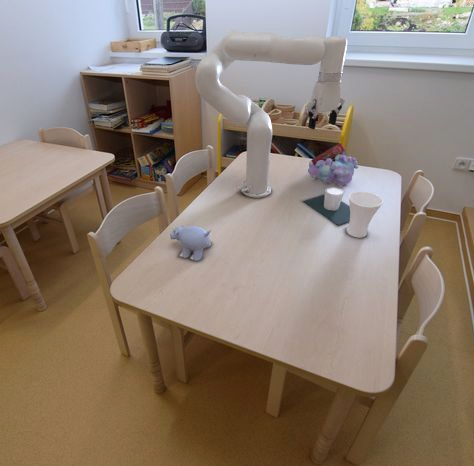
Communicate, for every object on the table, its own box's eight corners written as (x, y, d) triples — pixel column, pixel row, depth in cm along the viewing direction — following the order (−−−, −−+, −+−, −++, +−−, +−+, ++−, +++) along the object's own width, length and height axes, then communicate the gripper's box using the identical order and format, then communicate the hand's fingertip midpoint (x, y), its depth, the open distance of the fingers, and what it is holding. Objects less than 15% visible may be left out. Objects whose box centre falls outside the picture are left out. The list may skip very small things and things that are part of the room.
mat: (338, 225, 120) (338, 224, 120) (303, 201, 135) (303, 200, 135) (364, 216, 124) (365, 215, 124) (328, 194, 139) (328, 193, 139)
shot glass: (340, 203, 132) (344, 188, 128) (340, 212, 126) (343, 196, 122) (322, 201, 134) (325, 186, 130) (321, 210, 128) (324, 194, 124)
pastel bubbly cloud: (334, 186, 134) (356, 145, 130) (292, 168, 148) (311, 130, 143) (351, 195, 149) (372, 158, 145) (312, 178, 163) (330, 143, 158)
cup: (373, 227, 118) (383, 194, 110) (371, 244, 110) (382, 209, 103) (342, 221, 122) (350, 189, 114) (339, 237, 114) (347, 203, 106)
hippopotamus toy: (180, 235, 119) (177, 213, 114) (218, 244, 114) (217, 221, 108) (165, 253, 111) (161, 229, 106) (205, 263, 106) (203, 240, 100)
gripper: (341, 72, 121) (332, 120, 131) (302, 78, 115) (296, 127, 125) (356, 76, 115) (346, 125, 125) (316, 82, 110) (309, 133, 119)
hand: (321, 126), depth 125 cm, fingers open, 9 cm apart
